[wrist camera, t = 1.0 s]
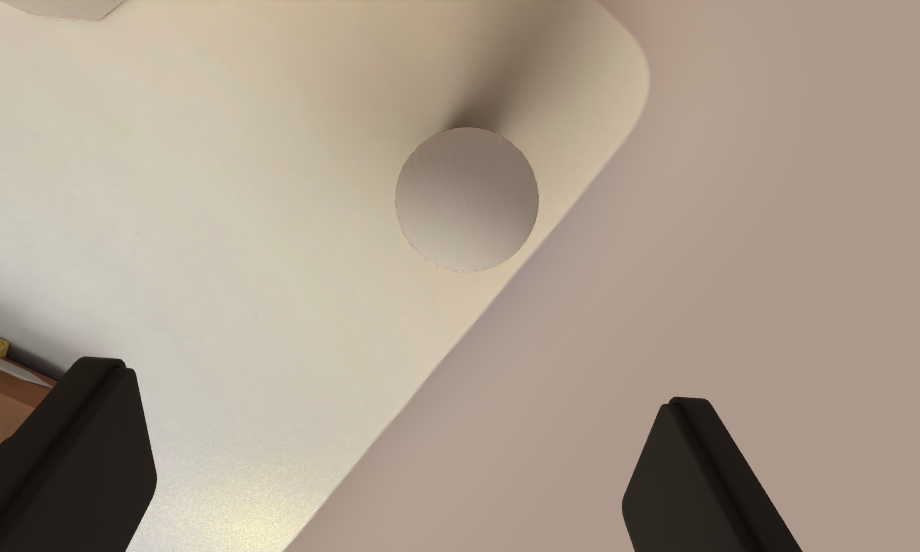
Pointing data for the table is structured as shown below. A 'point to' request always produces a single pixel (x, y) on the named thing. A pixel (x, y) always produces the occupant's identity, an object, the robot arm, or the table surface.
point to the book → (18, 392)
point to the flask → (66, 8)
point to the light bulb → (466, 199)
